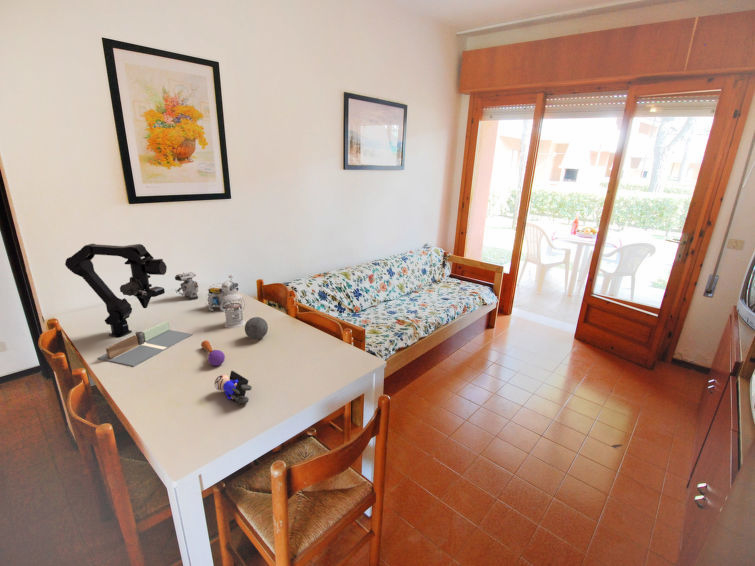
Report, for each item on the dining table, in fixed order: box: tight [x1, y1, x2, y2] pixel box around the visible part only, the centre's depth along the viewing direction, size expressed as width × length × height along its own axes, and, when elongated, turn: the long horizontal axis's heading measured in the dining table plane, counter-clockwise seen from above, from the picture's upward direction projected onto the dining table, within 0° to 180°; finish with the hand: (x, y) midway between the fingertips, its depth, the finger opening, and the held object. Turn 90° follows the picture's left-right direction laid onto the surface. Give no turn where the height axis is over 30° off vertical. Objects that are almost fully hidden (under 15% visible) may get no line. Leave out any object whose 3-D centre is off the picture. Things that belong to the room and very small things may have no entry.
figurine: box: [174, 271, 199, 301], centre depth 209 cm, size 9×12×15 cm
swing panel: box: [142, 320, 171, 341], centre depth 164 cm, size 2×13×4 cm, turn 164°
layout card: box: [97, 329, 193, 368], centre depth 156 cm, size 18×30×1 cm, turn 164°
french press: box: [224, 274, 247, 329], centre depth 178 cm, size 10×12×25 cm
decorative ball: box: [244, 316, 269, 340], centre depth 165 cm, size 10×10×10 cm
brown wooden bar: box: [105, 331, 144, 359], centre depth 150 cm, size 3×16×5 cm, turn 164°
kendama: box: [200, 340, 226, 367], centre depth 148 cm, size 6×6×20 cm
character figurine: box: [214, 370, 253, 404], centre depth 123 cm, size 8×7×15 cm
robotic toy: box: [205, 280, 239, 312], centre depth 198 cm, size 13×17×15 cm
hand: (145, 307), depth 163 cm, fingers closed
